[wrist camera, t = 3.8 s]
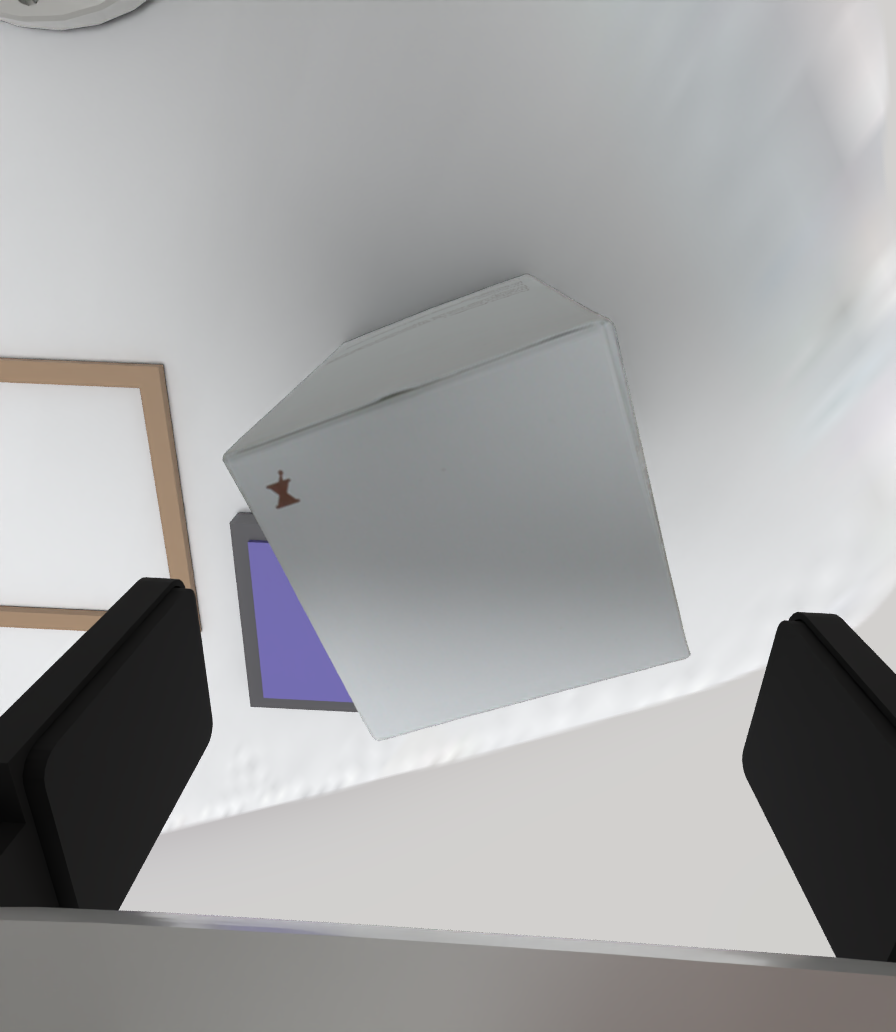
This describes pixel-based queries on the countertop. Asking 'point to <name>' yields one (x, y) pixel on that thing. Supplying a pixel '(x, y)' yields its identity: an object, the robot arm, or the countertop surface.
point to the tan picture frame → (161, 456)
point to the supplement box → (467, 509)
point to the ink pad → (279, 632)
